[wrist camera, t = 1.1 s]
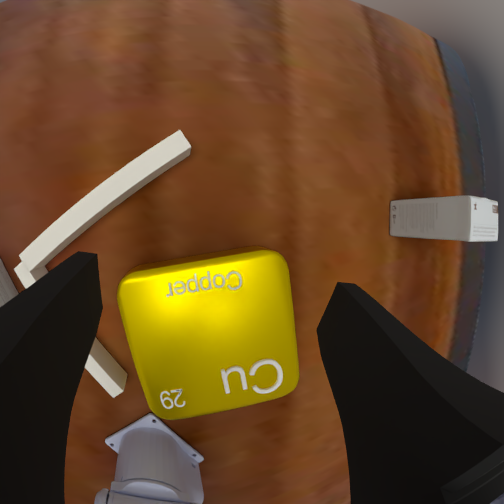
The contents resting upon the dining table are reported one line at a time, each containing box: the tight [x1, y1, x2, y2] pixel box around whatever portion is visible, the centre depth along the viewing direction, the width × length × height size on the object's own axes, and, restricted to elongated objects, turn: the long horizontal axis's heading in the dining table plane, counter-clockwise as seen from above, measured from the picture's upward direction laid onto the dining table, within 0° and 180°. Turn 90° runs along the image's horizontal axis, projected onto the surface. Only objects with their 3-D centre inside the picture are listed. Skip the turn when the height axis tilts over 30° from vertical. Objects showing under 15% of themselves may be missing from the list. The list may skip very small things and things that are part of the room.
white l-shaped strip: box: [14, 130, 191, 398], centre depth 26 cm, size 16×19×4 cm
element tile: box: [117, 246, 299, 420], centre depth 28 cm, size 15×15×5 cm
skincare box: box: [390, 196, 498, 242], centre depth 28 cm, size 6×4×12 cm
